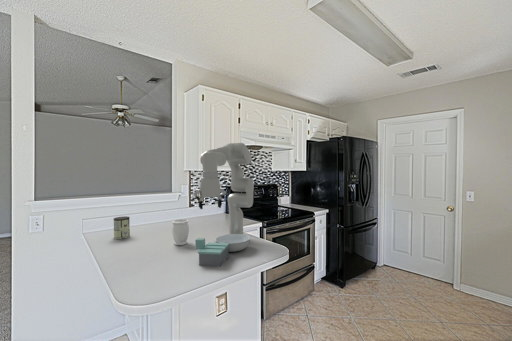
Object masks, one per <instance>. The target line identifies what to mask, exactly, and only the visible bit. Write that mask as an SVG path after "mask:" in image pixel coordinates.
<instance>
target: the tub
mask: <svg viewBox="0 0 512 341" xmlns="http://www.w3.org/2000/svg"><path fill="white" fill-rule="evenodd" d="M228 257H229V252H228V247H227V248H226V249H225V250H224V251H223V252H222V253H221V254H220V255H218V254H198V266H208V267H221V266H222V265H223V264H224V263H225V261H226V260H227V259H228Z"/></svg>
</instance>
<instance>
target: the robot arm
mask: <svg viewBox="0 0 512 341" xmlns="http://www.w3.org/2000/svg"><path fill="white" fill-rule="evenodd" d="M199 159H200V163H201V165H202V178H200V182H199V183H200V184H199V189H198V190H196V191H194V192H193V193H192V194H193V196H194V197H195V199H196V200H197V201H198V208H199V209H200V210H203V208H204V207H203V206H204V205H203V203H204V202H203V199H204V198H217V207H218V208H219V209H221V208H222V205H223V203H222V201H223V199H224V198H225V197H226V195H227V191H226V190H224V189H222V188H221V184H220V179H219V176H221V173H220V172H218V167H222V166H224V165H225V164H226V163H227V164H228V166H229V168H230V172H231V175H230V177H231V178H230V190H232V192H235V193H230V194H229V195H228V196H227V204H228V217H229V218H228V220H229V223H228V224H229V228H228V229H229V230H228V231H229V233H228V234H244V213H243V210H242V209H241V208H251V207H253V204H254V189H255V187H254V181H253V179H252V178H251V177H244V169H243V168H242V166H241V165H249V164H250V163H251V161H252V154H251V152H250V150H249V149H248V147H247V145H246V144H245V143H243V142H232V143H231V142H230V143H227V144H226V145H223V146H220V147H216V148H213V149H209V150H206V151H204V152H202V154H201V155H200V158H199ZM236 192H237V193H236ZM241 192H242V193H241ZM243 192H244V193H243ZM221 193H222V194H221ZM198 194H199V196H198Z"/></svg>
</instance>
